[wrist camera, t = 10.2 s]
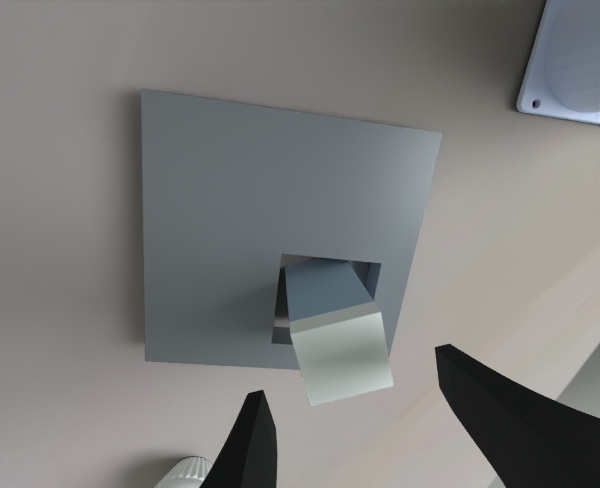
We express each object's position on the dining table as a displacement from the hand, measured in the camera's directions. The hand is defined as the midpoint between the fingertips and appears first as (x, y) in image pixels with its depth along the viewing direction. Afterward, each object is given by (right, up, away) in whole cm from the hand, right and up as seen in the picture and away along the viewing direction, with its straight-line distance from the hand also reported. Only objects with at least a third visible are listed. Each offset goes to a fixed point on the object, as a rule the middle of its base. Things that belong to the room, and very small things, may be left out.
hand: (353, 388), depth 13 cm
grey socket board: (-3, +6, +8) cm, 10 cm away
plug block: (-1, +3, +9) cm, 9 cm away
